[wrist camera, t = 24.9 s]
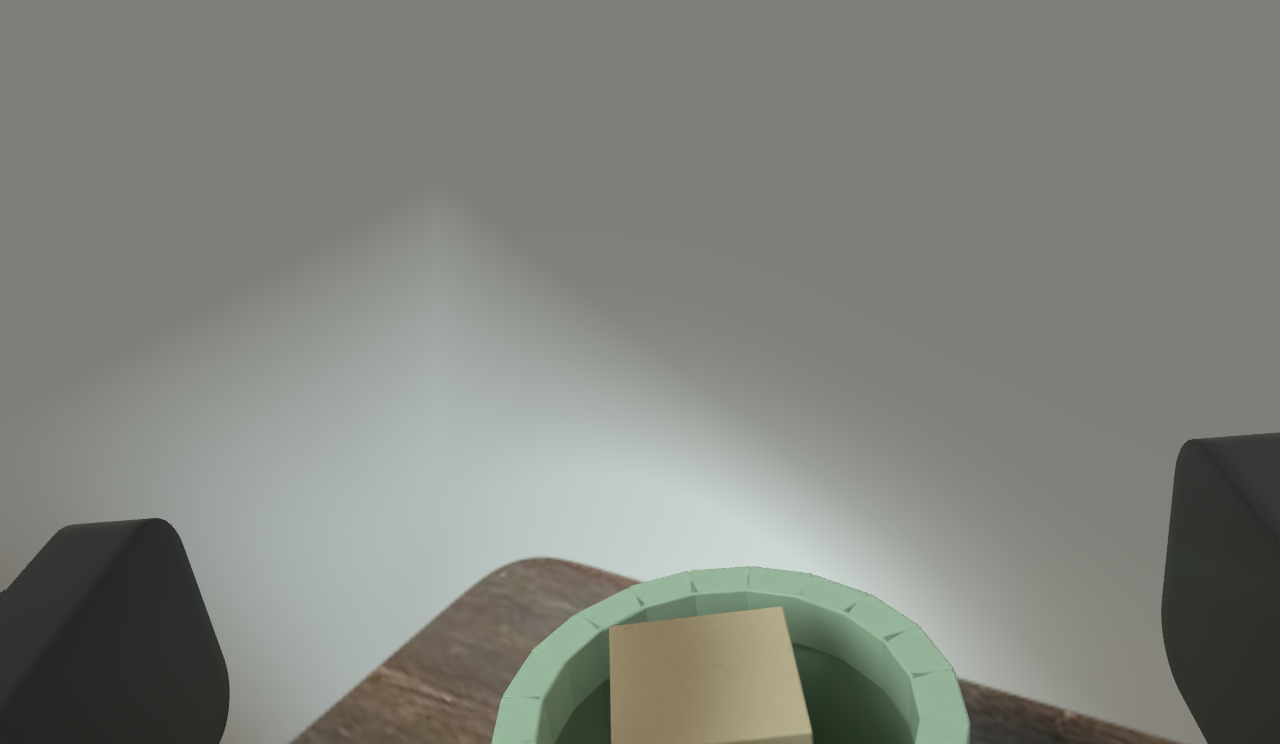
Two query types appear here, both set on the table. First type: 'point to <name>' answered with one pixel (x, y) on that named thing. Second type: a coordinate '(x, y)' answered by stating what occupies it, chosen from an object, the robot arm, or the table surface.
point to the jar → (822, 643)
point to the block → (707, 681)
